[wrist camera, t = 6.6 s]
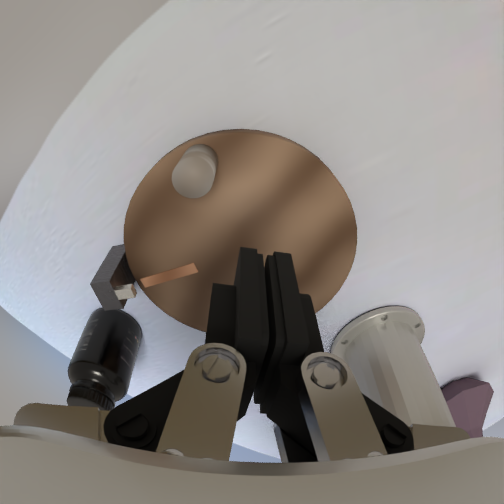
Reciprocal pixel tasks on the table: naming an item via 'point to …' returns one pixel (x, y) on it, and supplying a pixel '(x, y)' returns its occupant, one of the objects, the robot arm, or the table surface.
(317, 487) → the robot arm
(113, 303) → the index pointer
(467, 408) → the flask
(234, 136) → the disc
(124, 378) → the supplement bottle
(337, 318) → the table surface
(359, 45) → the table surface
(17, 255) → the table surface
